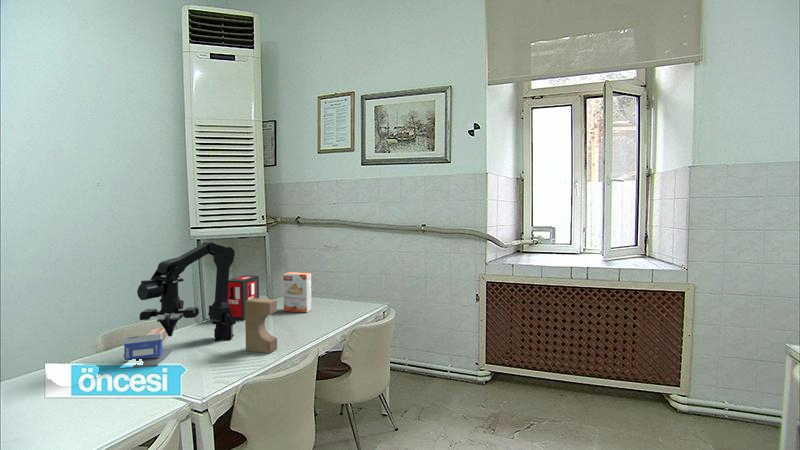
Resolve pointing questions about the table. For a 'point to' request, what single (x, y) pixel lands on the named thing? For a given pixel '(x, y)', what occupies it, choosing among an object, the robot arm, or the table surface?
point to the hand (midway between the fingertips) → (170, 336)
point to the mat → (154, 359)
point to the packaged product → (159, 331)
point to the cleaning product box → (242, 294)
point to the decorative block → (259, 325)
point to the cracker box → (297, 292)
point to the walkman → (142, 347)
